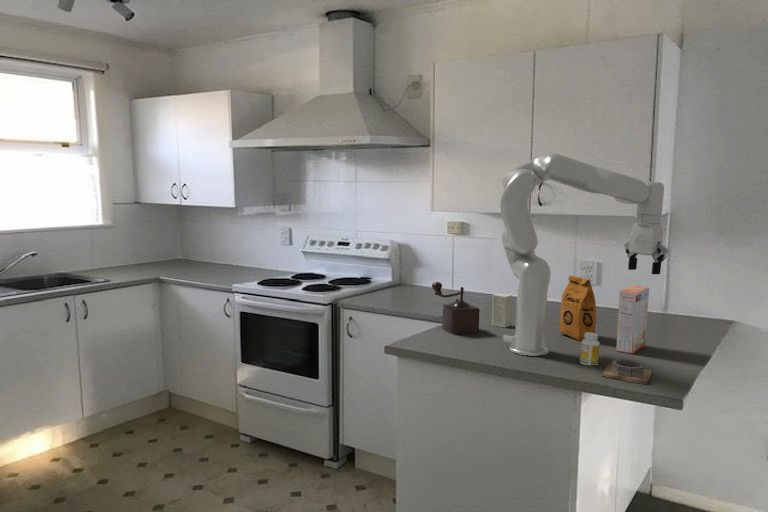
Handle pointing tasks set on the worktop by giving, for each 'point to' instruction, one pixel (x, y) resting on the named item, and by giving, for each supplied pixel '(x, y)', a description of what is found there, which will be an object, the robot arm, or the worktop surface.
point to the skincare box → (501, 310)
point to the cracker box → (632, 319)
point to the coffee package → (578, 308)
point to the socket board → (628, 371)
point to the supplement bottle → (589, 349)
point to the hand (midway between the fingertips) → (643, 271)
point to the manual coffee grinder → (458, 314)
